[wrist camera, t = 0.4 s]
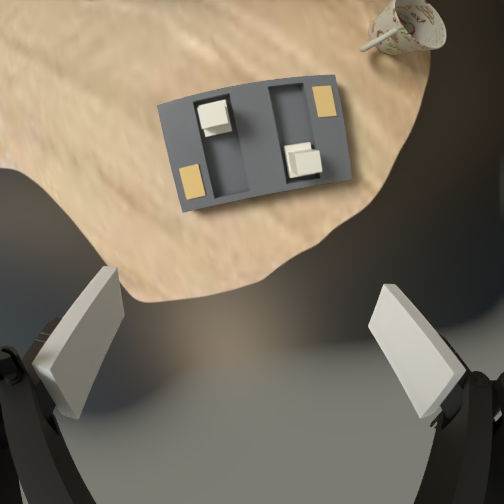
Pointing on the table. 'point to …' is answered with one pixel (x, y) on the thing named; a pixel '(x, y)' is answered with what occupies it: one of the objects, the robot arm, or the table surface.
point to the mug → (406, 28)
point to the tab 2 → (302, 159)
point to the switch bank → (255, 140)
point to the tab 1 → (214, 118)
